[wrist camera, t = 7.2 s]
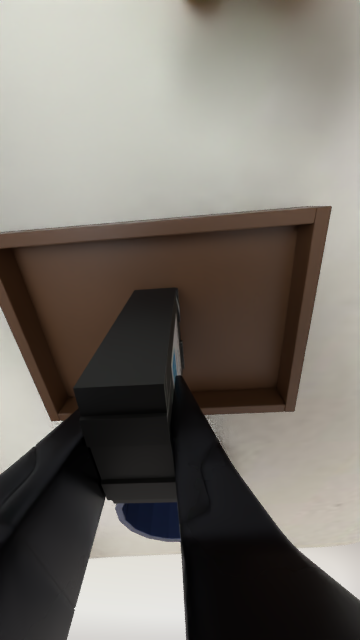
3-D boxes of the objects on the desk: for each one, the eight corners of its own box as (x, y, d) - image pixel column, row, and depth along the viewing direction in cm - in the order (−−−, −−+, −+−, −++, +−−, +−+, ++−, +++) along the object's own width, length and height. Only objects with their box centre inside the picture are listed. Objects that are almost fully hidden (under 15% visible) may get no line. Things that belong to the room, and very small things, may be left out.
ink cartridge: (184, 361, 14) (184, 514, 7) (148, 363, 15) (111, 515, 7) (178, 284, 12) (169, 391, 5) (135, 287, 12) (67, 395, 5)
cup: (137, 482, 21) (126, 542, 17) (122, 423, 18) (105, 481, 14) (221, 480, 21) (229, 541, 17) (220, 419, 17) (230, 478, 14)
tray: (66, 397, 17) (50, 421, 15) (3, 232, 12) (-32, 236, 10) (281, 387, 16) (294, 411, 14) (307, 206, 11) (332, 205, 9)
